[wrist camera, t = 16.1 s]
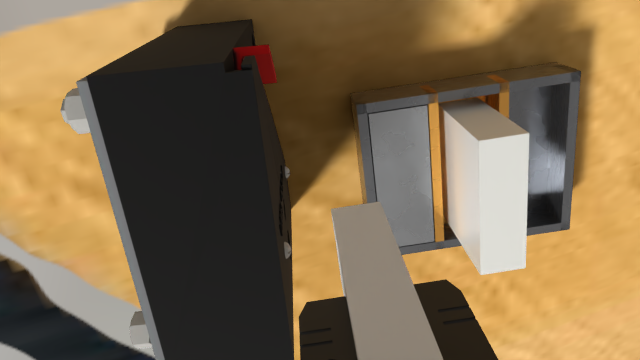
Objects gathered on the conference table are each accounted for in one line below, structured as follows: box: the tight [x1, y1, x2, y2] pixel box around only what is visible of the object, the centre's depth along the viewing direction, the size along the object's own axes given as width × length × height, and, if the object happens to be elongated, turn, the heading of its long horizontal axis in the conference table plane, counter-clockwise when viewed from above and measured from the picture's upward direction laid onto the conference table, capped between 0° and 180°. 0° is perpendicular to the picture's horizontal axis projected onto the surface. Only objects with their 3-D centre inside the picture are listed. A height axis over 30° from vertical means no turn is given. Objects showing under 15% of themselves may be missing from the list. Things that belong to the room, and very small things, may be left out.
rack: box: [350, 62, 581, 255], centre depth 44 cm, size 15×18×4 cm
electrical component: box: [61, 19, 294, 360], centre depth 35 cm, size 18×10×20 cm, turn 5°
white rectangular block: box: [438, 98, 529, 275], centre depth 41 cm, size 4×11×10 cm, turn 8°
